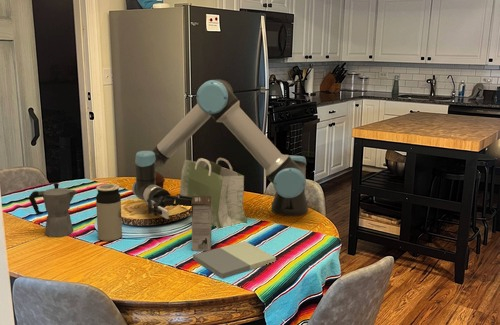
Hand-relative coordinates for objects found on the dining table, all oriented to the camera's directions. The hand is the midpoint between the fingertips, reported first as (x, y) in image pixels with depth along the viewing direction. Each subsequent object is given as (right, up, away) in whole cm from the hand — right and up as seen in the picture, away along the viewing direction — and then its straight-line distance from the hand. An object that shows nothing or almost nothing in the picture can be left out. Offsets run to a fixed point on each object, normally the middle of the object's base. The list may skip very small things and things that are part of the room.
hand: (185, 211), depth 166 cm
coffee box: (+6, -11, -6) cm, 14 cm away
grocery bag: (+8, -4, +25) cm, 27 cm away
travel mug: (-26, -9, -1) cm, 27 cm away
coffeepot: (-45, -8, +2) cm, 46 cm away
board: (+18, -13, -18) cm, 28 cm away
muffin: (-22, +3, +51) cm, 56 cm away
